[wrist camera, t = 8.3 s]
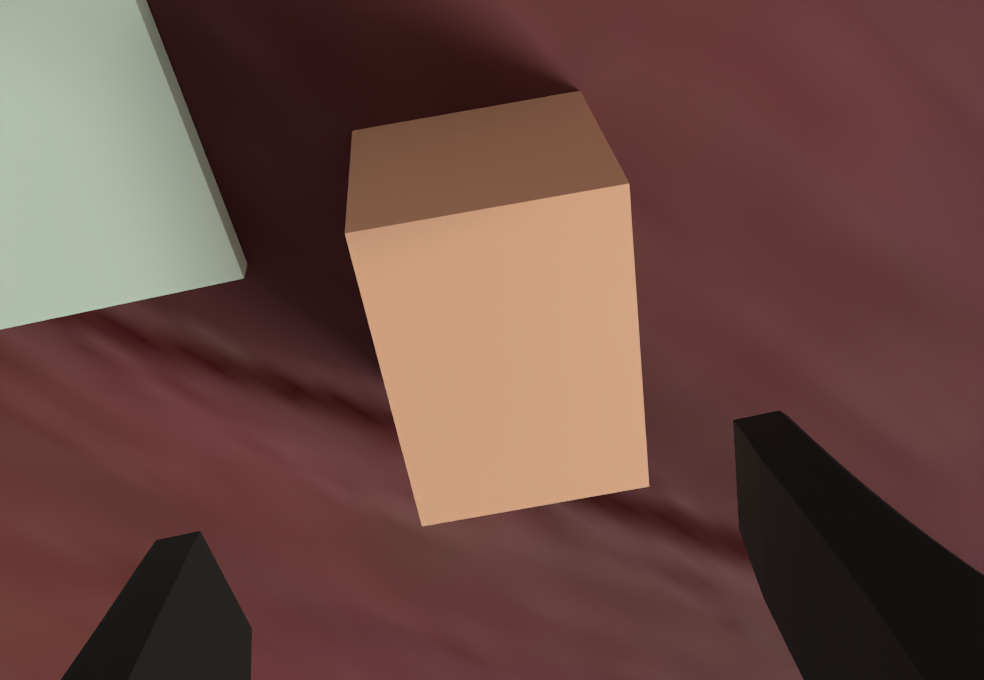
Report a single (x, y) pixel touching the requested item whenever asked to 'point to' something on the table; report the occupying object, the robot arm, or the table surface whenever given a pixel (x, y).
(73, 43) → the baseplate
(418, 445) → the tan brick
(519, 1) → the table surface
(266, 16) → the table surface
